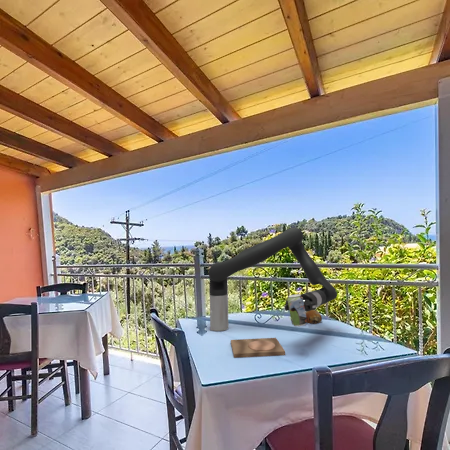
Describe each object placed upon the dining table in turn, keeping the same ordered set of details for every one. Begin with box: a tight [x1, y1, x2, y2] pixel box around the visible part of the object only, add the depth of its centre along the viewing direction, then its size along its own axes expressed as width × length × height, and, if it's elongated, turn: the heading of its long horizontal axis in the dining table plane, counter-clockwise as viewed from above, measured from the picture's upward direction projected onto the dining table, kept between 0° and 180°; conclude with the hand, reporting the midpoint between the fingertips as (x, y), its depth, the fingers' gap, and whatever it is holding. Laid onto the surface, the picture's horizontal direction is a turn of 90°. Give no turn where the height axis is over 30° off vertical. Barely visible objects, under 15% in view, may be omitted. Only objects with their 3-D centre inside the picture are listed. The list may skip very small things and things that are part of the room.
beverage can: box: [287, 293, 308, 327], centre depth 121 cm, size 6×7×12 cm
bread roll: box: [305, 309, 323, 325], centre depth 164 cm, size 10×10×8 cm
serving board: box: [230, 337, 286, 359], centre depth 126 cm, size 20×16×2 cm
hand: (290, 308), depth 121 cm, fingers closed on beverage can, 3 cm apart
